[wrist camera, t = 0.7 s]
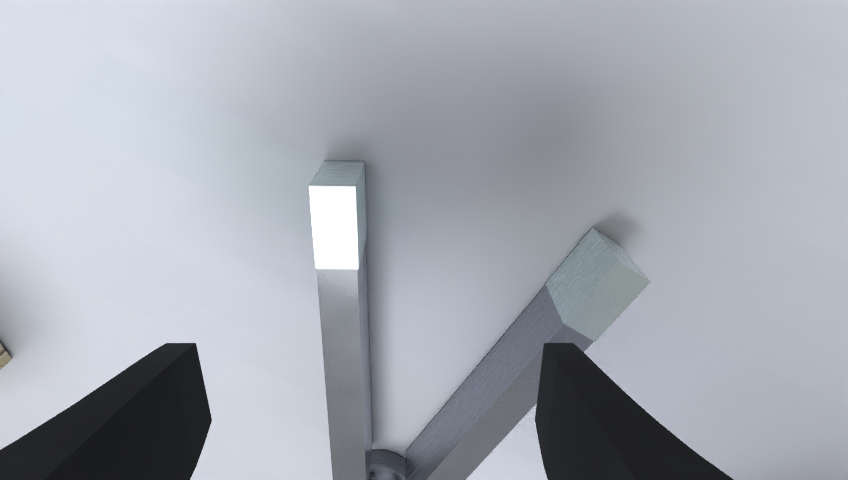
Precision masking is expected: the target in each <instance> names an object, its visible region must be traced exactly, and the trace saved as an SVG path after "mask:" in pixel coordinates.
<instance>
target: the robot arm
mask: <svg viewBox="0 0 848 480" xmlns="http://www.w3.org/2000/svg"><path fill="white" fill-rule="evenodd" d="M211 421H212V419H211V414H210V409H209V404H208V399H207V395H206V390H205V385H204V380H203V376H202V371H201V366H200V361H199V356H198V352H197V347H196V343H166V344H164V345H163V346H161V347H159V348H157V349H156V350H154V351H153V352H151V353H149V354H148V355H146V356H145V357H143V358H142V359H140V360H139V361H137V362H136V363H134V364H133V365H131V366H130V367H128V368H127V369H126V370H124V371H123V372H121V373H120V374H118V375H117V376H115V377H114V378H112V379H111V380H109V381H108V382H106V383H105V384H103V385H102V386H100V387H99V388H97V389H96V390H95V391H93V392H92V393H90V394H89V395H87V396H86V397H84V398H83V399H81V400H80V401H78V402H77V403H75V404H74V405H72V406H71V407H69V408H67V409H66V410H64V411H63V412H61V413H60V414H58V415H56V416H55V417H53V418H52V419H50V420H48V421H47V422H45V423H44V424H42V425H40V426H39V427H37V428H36V429H34V430H32V431H31V432H29V433H28V434H26V435H24V436H23V437H21V438H20V439H18V440H16V441H15V442H13V443H11V444H10V445H8V446H6V447H5V448H3V449H1V450H0V480H190V478H191V476H192V474H193V472H194V470H195V468H196V465H197V462H198V460H199V457H200V454H201V451H202V449H203V446H204V443H205V440H206V437H207V434H208V431H209V427H210V424H211ZM535 422H536V428H537V433H538V439H539V444H540V449H541V454H542V459H543V464H544V468H545V471H546V475H547V478H548V480H733V479H732V478H731V477H729V476H728V475H726V474H725V473H724V472H722V471H721V470H719V469H718V468H717V467H715V466H714V465H712V464H711V463H709V462H708V461H707V460H705V459H704V458H703V457H701V456H700V455H699V454H697V453H696V452H695V451H693V450H692V449H691V448H689V447H688V446H687V445H686V444H684V443H683V442H682V441H681V440H680V439H678V438H677V437H676V436H675V435H673V434H672V433H671V432H670V431H669V430H667V429H666V428H665V427H664V426H662V425H661V424H660V423H659V422H658V421H656V420H655V419H654V418H653V417H652V416H651V415H650V414H648V413H647V412H646V411H645V410H644V409H643V408H642V407H640V406H639V405H638V404H637V403H636V402H635V401H634V400H633V399H632V398H630V397H629V396H628V395H627V394H626V393H625V392H624V391H623V390H622V389H621V388H620V387H619V386H618V385H616V384H615V383H614V382H613V381H612V380H611V379H610V378H609V377H608V376H607V375H606V374H605V373H604V372H603V371H602V370H601V369H600V368H599V367H598V366H597V365H596V364H595V363H594V362H593V361H592V360H591V359H590V358H589V357H588V356H587V355H586V354H585V353H584V352H583V351H581V350H580V349H579V348H578V347H577V346H576V345H575V344H574V343H544V346H543V355H542V363H541V372H540V381H539V389H538V398H537V407H536V416H535Z"/></svg>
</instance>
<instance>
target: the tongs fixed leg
mask: <svg viewBox="0 0 848 480" xmlns="http://www.w3.org/2000/svg"><path fill="white" fill-rule="evenodd" d="M650 282H651V281H650V280H649V279H648V278H647V277H646V275H645V274H644V273H643V272H642V271H641V270H640V268H639V267H638V266H637V265H636V264H635V262H634V261H633V260H632V259H631V258H630V256H629V255H628V254H627V253H626V252H625V250H624V249H623V248H622V247H621V246H620V245H619V244H617V243H615V242H614V241H612V240H611V239H609V238H608V237H606V236H605V235H603V234H602V233H600V232H599V231H597V230H595V229H594V228H591V229H590V231H589V232H588V233H587V234H586V235H585V237H584V238H583V239H582V240H581V241H580V243H579V244H578V245H577V246H576V247H575V249H574V250H573V251H572V252H571V253H570V255H569V256H568V257H567V258H566V259H565V261H564V262H563V263H562V264H561V265H560V266H559V268H558V269H557V270H556V271H555V272H554V274H553V275H552V276H551V277H550V278H549V280H548V281H547V282H546V283H545V284H546V285H545V286H544V287H543V288H542V290H541V291H540V292H539V293H538V294H537V296H536V297H535V298H534V299H533V300H532V302H531V303H530V304H529V305H528V306H527V308H526V309H525V310H524V311H523V312H522V313H521V315H520V316H519V317H518V318H517V319H516V321H515V322H514V323H513V324H512V325H511V327H510V328H509V329H508V330H507V331H506V333H505V334H504V335H503V336H502V337H501V339H500V340H499V341H498V342H497V343H496V344H495V346H494V347H493V348H492V349H491V350H490V352H489V353H488V354H487V355H486V356H485V358H484V359H483V360H482V361H481V362H480V364H479V365H478V366H477V367H476V368H475V369H474V371H473V372H472V373H471V374H470V375H469V377H468V378H467V379H466V380H465V381H464V383H463V384H462V385H461V386H460V387H459V389H458V390H457V391H456V392H455V393H454V395H453V396H452V397H451V398H450V399H449V400H448V402H447V403H446V404H445V405H444V406H443V408H442V409H441V410H440V411H439V412H438V414H437V415H436V416H435V417H434V418H433V420H432V421H431V422H430V423H429V424H428V425H427V427H426V428H425V429H424V430H423V431H422V433H421V434H420V435H419V436H418V437H417V439H416V440H415V441H414V442H413V443H412V445H411V446H410V447H409V448H408V449H407V451H406V460H405V459H404V458H402V457H401V456H399V455H398V454H396V453H393V452H390V451H385V450H372V454H371V463H370V472H369V480H466V478H467V477H468V476H469V475H470V474H471V473H472V472H473V471H474V470H475V469H476V468H477V467H478V466H479V464H480V463H481V462H482V461H483V460H484V459H485V458H486V457H487V456H488V455H489V454H490V453H491V452H492V450H493V449H494V448H495V447H496V446H497V445H498V444H499V443H500V442H501V441H502V440H503V439H504V437H505V436H506V435H507V434H508V433H509V432H510V431H511V430H512V429H513V428H514V427H515V426H516V425H517V423H518V422H519V421H520V420H521V419H522V418H523V417H524V416H525V415H526V414H527V413H528V412H529V411H530V409H531V408H532V407H533V406H534V405H535V404H536V403H537V398H538V389H539V381H540V372H541V363H542V355H543V346H544V343H574V344H575V345H576V346H577V347H578V348H579V349H580V350H581V351H583V352H584V351H585V350H586V349H587V348H588V347H589V346H590V345H591V344H592V343H593V341H594V342H595V341H596V340H597V339H598V338H599V337H600V336H601V335H602V334H603V332H604V331H605V330H606V329H607V328H608V327H609V326H610V325H611V324H612V323H613V322H614V321H615V320H616V318H617V317H618V316H619V315H620V314H621V313H622V312H623V311H624V310H625V309H626V308H627V307H628V306H629V304H630V303H631V302H632V301H633V300H634V299H635V298H636V297H637V296H638V295H639V294H640V293H641V291H642V290H643V289H644V288H645V287H646V286H647V285H648V284H649V283H650Z"/></svg>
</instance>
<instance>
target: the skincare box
mask: <svg viewBox="0 0 848 480" xmlns="http://www.w3.org/2000/svg"><path fill="white" fill-rule="evenodd" d="M10 360H11V357H10V355H9V354H8V353H7V352H6V351H5V349H4V348H3V346H2V345H1V344H0V369H1V368H2V367H4V366H5V365H6V364H7V363H8V362H9V361H10Z"/></svg>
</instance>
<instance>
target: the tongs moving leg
mask: <svg viewBox="0 0 848 480" xmlns="http://www.w3.org/2000/svg"><path fill="white" fill-rule="evenodd" d="M309 195H310V208H311V220H312V233H313V246H314V259H315V269H317V279H318V292H319V305H320V318H321V331H322V344H323V357H324V370H325V383H326V396H327V409H328V422H329V435H330V448H331V461H332V474H333V480H369V472H370V463H371V454H372V444H373V441H372V411H371V381H370V351H369V321H368V291H367V261H366V237H367V223H366V192H365V162H361V161H324V163H323V164H322V166H321V167H320V169H319V171H318V172H317V174H316V175H315V177H314V179H313V180H312V182H311V183H310V185H309Z"/></svg>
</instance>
